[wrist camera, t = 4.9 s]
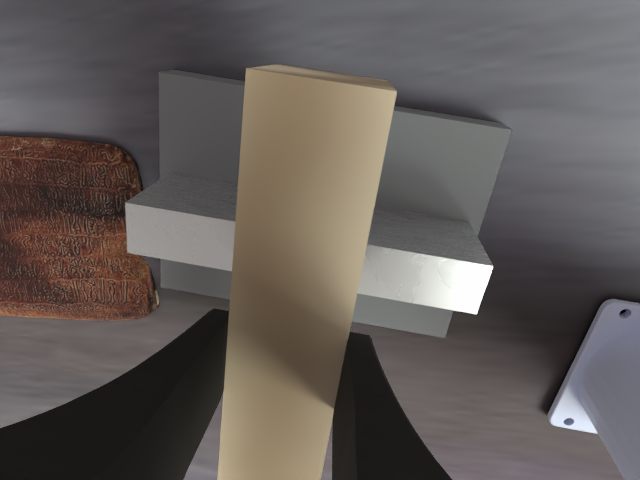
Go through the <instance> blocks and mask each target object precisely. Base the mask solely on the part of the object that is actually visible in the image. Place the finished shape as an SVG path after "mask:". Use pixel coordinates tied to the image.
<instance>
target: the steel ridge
mask: <svg viewBox="0 0 640 480" xmlns="http://www.w3.org/2000/svg"><path fill="white" fill-rule="evenodd" d="M237 191H238V183H236V182H230V181H224V180H218V179H212V178H207V177H201V176H195V175H189V174H183V173H177V172H169V173H168V174H166V175H165V176H163V177H162V178H160V179H159V180H157V181H156V182H155V183H153V184H152V185H150V186H149V187H147V188H146V189H144V190H143V191H141V192H140V193H139V194H137V195H136V196H134V197H133V198H131V199H130V200H128V201H127V202H125V210H126V232H127V253H131V254H137V255H143V256H148V257H154V258H160V259H165V260H171V261H177V262H182V263H188V264H194V265H199V266H205V267H211V268H216V269H222V270H228V271H232V263H233V249H234V234H235V220H236V206H237ZM492 269H493V265H492V263H491V261H490V259H489V257H488V255H487V253H486V252H485V250H484V248H483V246H482V244H481V242H480V240H479V238H478V237H477V235H476V233H475V231H474V229H473V227H472V225H471V224H470V222H465V221H459V220H453V219H447V218H441V217H436V216H430V215H424V214H418V213H412V212H406V211H400V210H394V209H389V208H383V207H377V206H374V211H373V216H372V221H371V226H370V231H369V237H368V242H367V247H366V252H365V257H364V262H363V267H362V272H361V277H360V282H359V287H358V292H357V293H358V294H364V295H369V296H375V297H381V298H386V299H392V300H397V301H403V302H409V303H414V304H420V305H426V306H431V307H437V308H443V309H448V310H454V311H460V312H465V313H471V314H477V312H478V309H479V306H480V303H481V300H482V298H483V295H484V292H485V289H486V286H487V283H488V280H489V278H490V275H491V272H492Z"/></svg>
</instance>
